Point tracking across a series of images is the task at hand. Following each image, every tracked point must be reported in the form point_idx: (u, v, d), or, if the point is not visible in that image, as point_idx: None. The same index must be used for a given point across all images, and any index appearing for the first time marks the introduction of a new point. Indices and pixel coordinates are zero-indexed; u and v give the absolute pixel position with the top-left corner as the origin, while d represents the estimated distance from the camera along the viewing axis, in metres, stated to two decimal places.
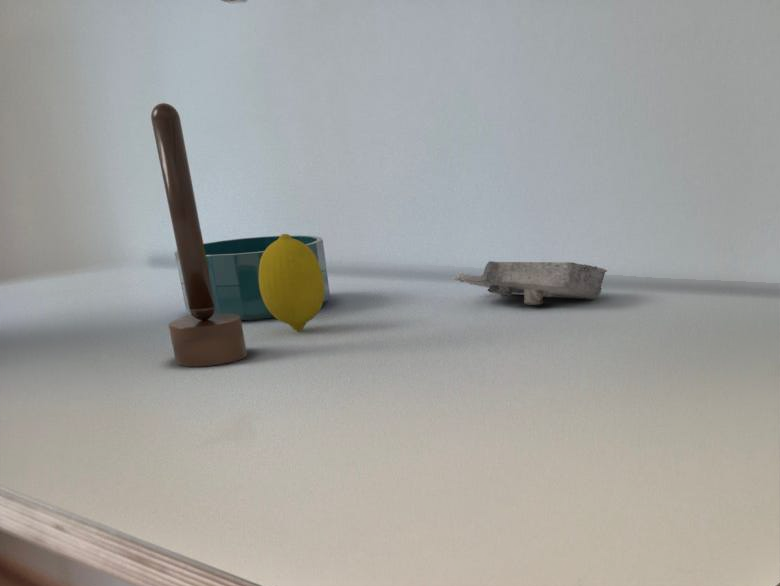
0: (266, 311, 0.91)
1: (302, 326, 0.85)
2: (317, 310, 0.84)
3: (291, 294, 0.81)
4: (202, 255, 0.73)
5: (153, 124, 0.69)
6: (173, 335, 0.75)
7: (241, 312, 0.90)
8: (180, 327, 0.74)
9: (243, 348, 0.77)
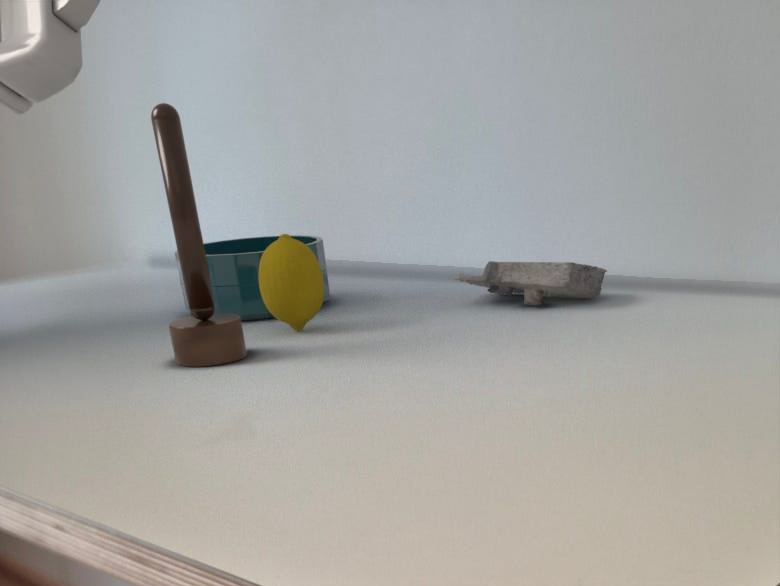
0: (266, 311, 0.91)
1: (302, 326, 0.85)
2: (317, 310, 0.84)
3: (291, 294, 0.81)
4: (202, 255, 0.73)
5: (153, 124, 0.69)
6: (173, 335, 0.75)
7: (241, 312, 0.90)
8: (180, 327, 0.74)
9: (243, 348, 0.77)
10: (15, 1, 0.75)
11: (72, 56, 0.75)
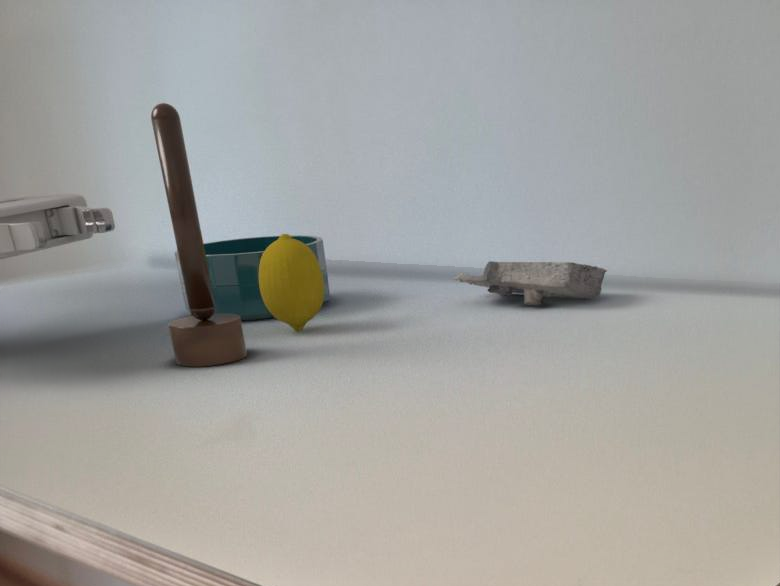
0: (266, 311, 0.91)
1: (302, 326, 0.85)
2: (317, 310, 0.84)
3: (291, 294, 0.81)
4: (202, 255, 0.73)
5: (153, 124, 0.69)
6: (173, 335, 0.75)
7: (241, 312, 0.90)
8: (180, 327, 0.74)
9: (243, 348, 0.77)
10: None
11: None
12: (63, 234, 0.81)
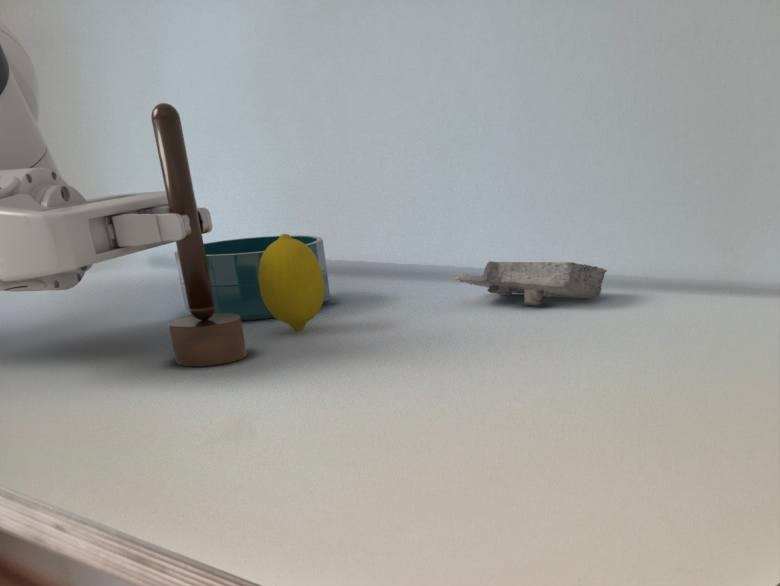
0: (266, 311, 0.91)
1: (302, 326, 0.85)
2: (317, 310, 0.84)
3: (291, 294, 0.81)
4: (202, 255, 0.73)
5: (153, 124, 0.69)
6: (172, 335, 0.75)
7: (241, 312, 0.90)
8: (180, 327, 0.74)
9: (243, 348, 0.77)
10: (64, 208, 0.70)
11: (73, 250, 0.66)
12: None
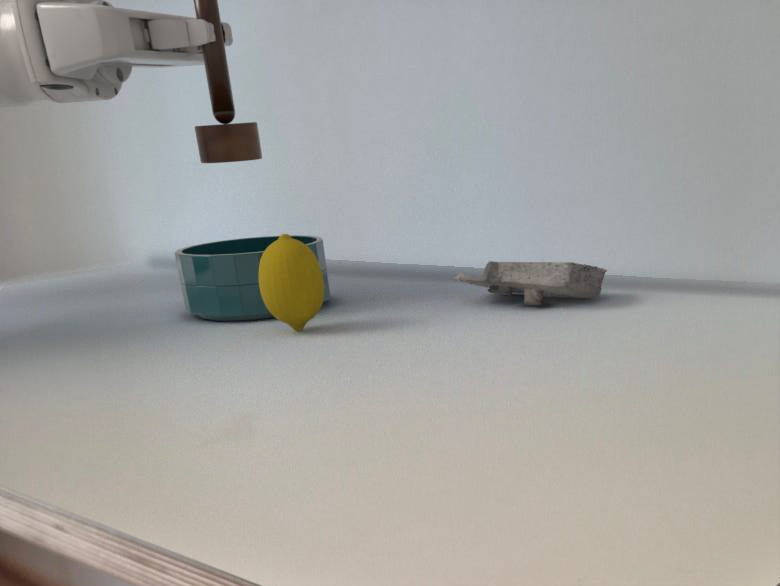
0: (266, 311, 0.91)
1: (302, 326, 0.85)
2: (317, 310, 0.84)
3: (291, 294, 0.81)
4: (225, 62, 0.85)
5: None
6: (198, 135, 0.86)
7: (241, 312, 0.90)
8: (205, 126, 0.85)
9: (259, 150, 0.88)
10: None
11: (116, 40, 0.77)
12: (183, 50, 0.87)
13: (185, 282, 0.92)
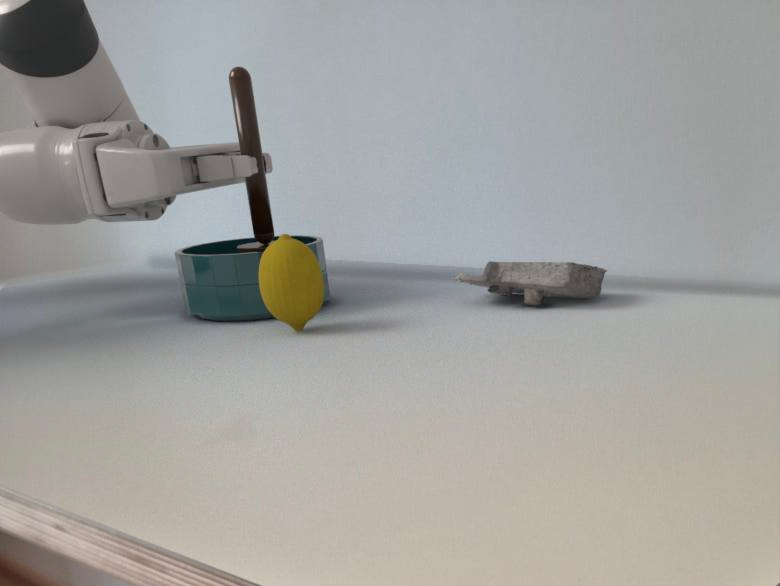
0: (266, 311, 0.91)
1: (302, 326, 0.85)
2: (317, 310, 0.84)
3: (291, 294, 0.81)
4: (266, 190, 0.92)
5: (230, 83, 0.87)
6: None
7: (241, 312, 0.90)
8: (247, 248, 0.92)
9: None
10: None
11: (169, 181, 0.84)
12: None
13: (185, 282, 0.92)
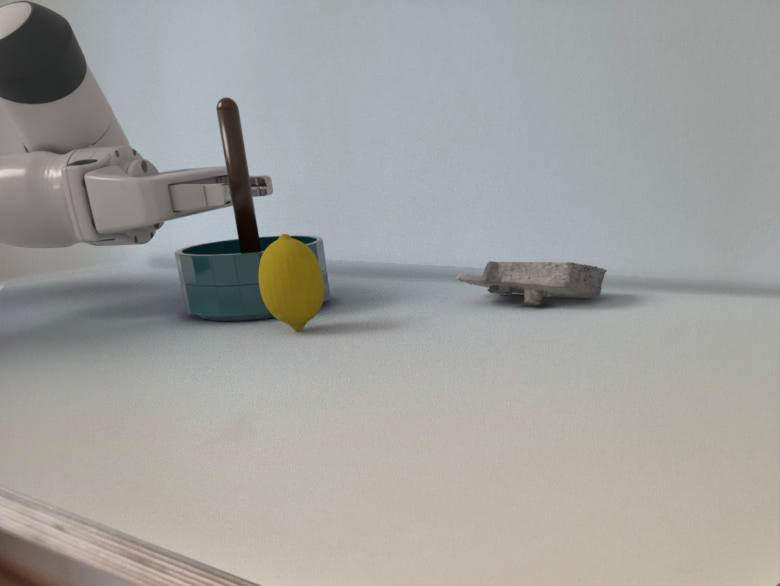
0: (266, 311, 0.91)
1: (302, 326, 0.85)
2: (317, 310, 0.84)
3: (291, 294, 0.81)
4: (254, 218, 0.93)
5: (218, 114, 0.88)
6: None
7: (241, 312, 0.90)
8: None
9: None
10: (147, 176, 0.89)
11: (157, 208, 0.85)
12: None
13: (185, 282, 0.92)
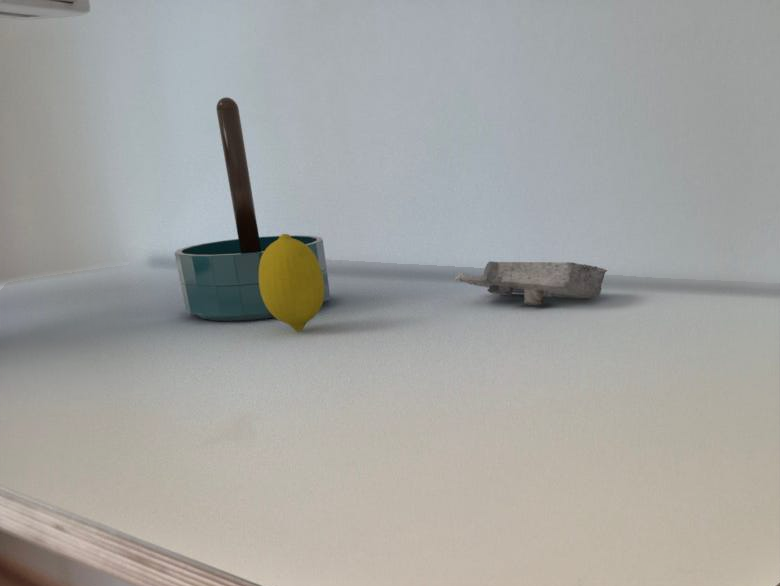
0: (266, 311, 0.91)
1: (302, 326, 0.85)
2: (317, 310, 0.84)
3: (291, 294, 0.81)
4: (254, 218, 0.93)
5: (218, 114, 0.88)
6: None
7: (241, 312, 0.90)
8: None
9: None
10: None
11: None
12: (61, 0, 0.86)
13: (185, 282, 0.92)
